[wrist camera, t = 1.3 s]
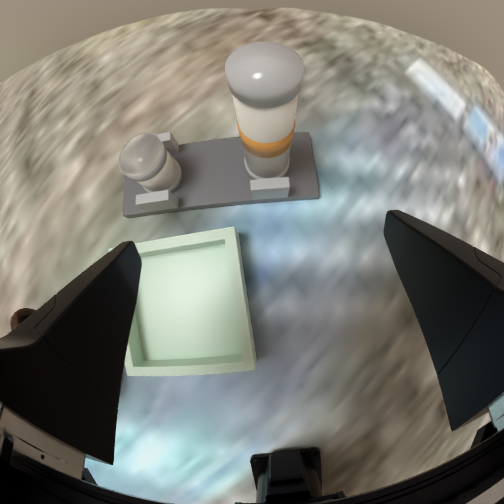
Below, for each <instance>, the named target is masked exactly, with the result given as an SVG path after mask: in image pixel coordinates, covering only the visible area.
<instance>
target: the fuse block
mask: <svg viewBox="0 0 504 504" xmlns="http://www.w3.org/2000/svg"><path fill="white" fill-rule="evenodd" d="M156 136H158V138H159V139H160V140H161V141H162V143H163V144H164V145H165V147H166V150H167V151H168V152H169V154H170V155H171V156H172V157H173V158H175V160H176V161H177V162H178V163H179V165H180V166H181V168H182V172H183V177H182V181H181V183H180V185H179V187H178V188H177V189H176V190H175V191H174V192H173V193H171V192H170V191H169V190H163V191H157V192H151V193H149V192H148V191H146V190H145V189H144V188H143V186H142V185H140V184H139V183H138V182H136V181H134V180H132V179H130V178H129V177H128V176H126V175H125V183H124V201H123V216H124V217H127V218H133V217H139V216H147V215H154V214H161V213H169V212H177V211H186V210H194V209H203V208H212V207H222V206H232V205H242V204H254V203H266V202H278V201H292V200H308V199H318V197H319V190H318V183H317V176H316V170H315V164H314V158H313V152H312V146H311V140H310V135H309V132H296V133H293V139H292V143H291V147H290V154H289V157H290V162H289V168H288V172H287V174H286V175H285V177H281V178H268V179H256V180H253V179H251V178H250V176H249V175H248V173H247V171H246V167H245V162H244V151H243V146H242V143H241V139H240V137H232V138H223V139H215V140H208V141H201V142H195V143H188V144H182V145H179V144H178V143H177V141H176V140H175V138H174V137H173V135H172V134H171V132H167V133H162V134H157V135H156Z"/></svg>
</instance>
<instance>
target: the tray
mask: <svg viewBox="0 0 504 504" xmlns="http://www.w3.org/2000/svg"><path fill="white" fill-rule="evenodd" d="M135 245H136V248H137V250H138V253H139V255H140V257H141V260H142V268H141V275H140V282H139V290H138V297H137V302H136V307H135V312H134V316H133V321H132V325H131V330H130V335H129V340H128V346H127V351H126V357H125V362H124V363H125V368H126V372H127V376H187V375H207V374H221V373H233V372H243V371H253V370H255V368H256V362H257V357H256V351H255V344H254V337H253V331H252V324H251V317H250V310H249V303H248V297H247V290H246V283H245V276H244V269H243V262H242V255H241V248H240V240H239V233H238V232H237V230H236V228H235V227H228V228H222V229H216V230H210V231H204V232H198V233H192V234H186V235H180V236H175V237H169V238H163V239H158V240H152V241H147V242H142V243H136V244H135ZM112 249H114V248H110V249H109V252H110V251H111V250H112Z"/></svg>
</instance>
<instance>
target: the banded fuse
mask: <svg viewBox="0 0 504 504" xmlns="http://www.w3.org/2000/svg"><path fill="white" fill-rule="evenodd" d="M225 72H226V77H227V81H228V86H229V89H230V91H231V93H232V95H233V100H234V105H235V110H236V115H237V124H238V129H239V134H240V139H241V143H242V146H243V151H244V162H245V167H246V171H247V173H248V175H249V176H250V178H251V179H253V180H256V179H268V178H281V177H285V175H286V174H287V172H288V168H289V162H290V157H289V154H290V147H291V143H292V139H293V133H294V127H295V114H296V108H297V101H298V94H299V92H300V90H301V87H302V81H303V74H304V63H303V60H302V58H301V57H300V55H299V54H298V53H297V52H295V51H294V50H293V49H291V48H289V47H287V46H285V45H282V44H279V43H274V42H255V43H250V44H247V45H244V46H242V47H240V48H238V49H236V50H235V51H234V52H233V53H231V54H230V56H229V57H228V59H227V60H226V63H225Z"/></svg>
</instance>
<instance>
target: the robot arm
mask: <svg viewBox="0 0 504 504" xmlns="http://www.w3.org/2000/svg"><path fill="white" fill-rule="evenodd" d="M384 237H385V240H386V243H387V245H388V248H389V251H390V253H391V256H392V259H393V262H394V265H395V267H396V270H397V272H398V275H399V277H400V279H401V281H402V284H403V286H404V288H405V290H406V293H407V295H408V297H409V300H410V302H411V304H412V307H413V309H414V312H415V314H416V317H417V319H418V322H419V324H420V327H421V329H422V332H423V335H424V338H425V340H426V343H427V346H428V349H429V352H430V355H431V358H432V361H433V364H434V367H435V370H436V373H437V377H438V380H439V384H440V387H441V391H442V394H443V398H444V402H445V406H446V410H447V414H448V418H449V423H450V427H451V430H452V431H455V430H457V429H459V428H461V427H462V426H464V425H466V424H468V423H470V422H472V421H474V420H475V419H477V418H479V417H481V416H482V415H484V414H486V413H488V412H489V415H490V418H491V422H489V423H487V424H486V425H484V426H483V427H481V428H480V429H478V430H477V433H476V436H475V438H474V441H473V443H472V446H471V448H470V450H468V451H466V452H464V453H463V454H461V455H459V456H457V457H455V458H453V459H451V460H449V461H447V462H445V463H443V464H441V465H439V466H437V467H435V468H432V469H430V470H428V471H426V472H423V473H421V474H418V475H416V476H413V477H411V478H408V479H406V480H403V481H400V482H397V483H394V484H392V485H389V486H385V487H382V488H379V489H376V490H372V491H369V492H365V493H361V494H358V495H353V496H349V497H346V496H345V494H344V493H343V491H341V492H336V494H331V495H326V496H323V495H322V491H321V490H322V480H321V460H320V451H319V449H318V448H310V449H304V450H296V451H288V452H281V453H272V454H264V455H254V456H252V457H251V459H250V463H251V467H252V472H253V476H254V481H255V485H256V490H257V497H256V503H242V502H235V504H504V263H503V262H501V261H499V260H498V259H496V258H494V257H492V256H490V255H488V254H486V253H485V252H483V251H481V250H479V249H477V248H475V247H473V246H472V245H470V244H468V243H466V242H464V241H462V240H460V239H458V238H456V237H455V236H453V235H451V234H449V233H447V232H445V231H443V230H441V229H439V228H436V227H434V226H432V225H430V224H428V223H426V222H424V221H422V220H420V219H417V218H415V217H413V216H411V215H409V214H406V213H404V212H402V211H399V210H389V211H388V212H387V214H386V219H385V226H384ZM141 268H142V260H141V257H140V255H139V253H138V250H137V248H136V245H135V243H134V242H133V241H126V242H122V243H121V244H119V245H118V246H116V247H115V248H114V249H112V250H111V251H110V252H108V253H107V254H106V255H104V256H103V257H102V258H100V259H99V260H98V261H96V262H95V263H94V264H93V265H91V266H90V267H89V268H87V269H86V270H85V271H84V272H82V273H81V274H80V275H79V276H77V277H76V278H75V279H74V280H72V281H71V282H70V283H69V284H67V285H66V286H65V287H64V288H63V289H61V290H60V291H59V292H58V293H57V295H54V296H53V297H52V298H51V299H50V300H48V301H47V302H46V303H45V304H44V305H42V306H41V307H40V308H39V309H38V310H36V311H35V312H34V313H33V314H32V315H30V316H29V317H28V318H27V319H25V320H24V321H23V322H22V323H21V324H19V325H18V326H17V327H16V328H15V329H13V330H12V331H11V332H10V333H9V334H7V335H6V336H4V337H2V338H0V504H173V503H167V502H161V501H155V500H150V499H145V498H141V497H137V496H132V495H128V494H125V493H121V492H117V491H114V490H110V489H107V488H104V487H101V486H98V485H97V483H96V482H95V480H94V478H93V477H92V475H91V474H90V472H89V470H88V469H87V468H85V467H84V465H85V459H86V458H89V459H92V460H95V461H99V462H102V463H106V464H110V465H113V462H114V447H115V434H116V423H117V413H118V409H117V408H118V403H119V396H120V388H121V381H122V375H123V368H124V362H125V357H126V351H127V346H128V340H129V335H130V330H131V325H132V321H133V316H134V312H135V307H136V302H137V297H138V290H139V282H140V275H141ZM313 452H316V453H313ZM254 459H257V461H255V460H254Z"/></svg>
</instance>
